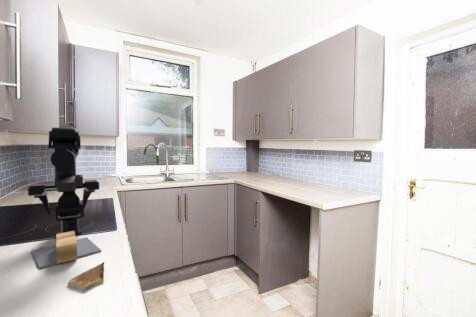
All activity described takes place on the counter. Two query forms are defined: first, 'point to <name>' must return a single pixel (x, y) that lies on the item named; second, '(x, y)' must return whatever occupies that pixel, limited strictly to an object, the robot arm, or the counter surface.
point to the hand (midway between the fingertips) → (66, 212)
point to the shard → (88, 278)
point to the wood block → (66, 247)
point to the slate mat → (49, 254)
